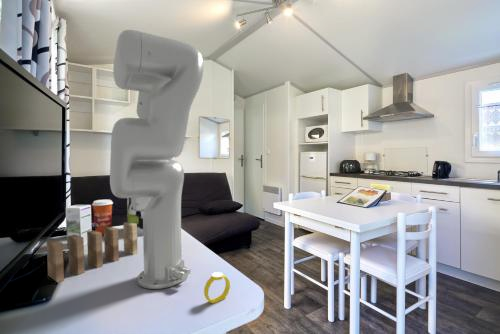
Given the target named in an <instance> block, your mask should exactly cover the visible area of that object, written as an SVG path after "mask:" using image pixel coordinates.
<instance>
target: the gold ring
mask: <svg viewBox="0 0 500 334" xmlns="http://www.w3.org/2000/svg"><path fill="white" fill-rule="evenodd" d="M210 276H211V277H210V278H209V279H208V280H207V281H206V282H205V285H204V289H203V293H204V297H205V299H206V300H207V301H208V302H209V303H211V304H215V303H218V302H220V301H223V300H225V299H226V297H227V296H228V294H229V292H230V289H231V288H230V287H231V284H230V283H231V282H230V280H229V278H228V277H227V276H226V275H224V272H221V271H215V272H212V273H211V275H210ZM223 279H224V282H225V286H224V290H223V292H222V293H221V295H219V296H216V297H214V298H212V299H211V298H210V296H209V289H210V287H211V285H212V284H213V282H214V281H221V280H223Z"/></svg>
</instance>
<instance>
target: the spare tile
mask: <svg viewBox="0 0 500 334" xmlns="http://www.w3.org/2000/svg"><path fill="white" fill-rule="evenodd" d="M122 229H123V230H122V231H123V252H124V253H127V254H129V255H132V256H135V255H137V254H138V251H139V250H138V249H139V248H138V236H137V224H135V223H130V222H128V221H126V222H123V228H122Z"/></svg>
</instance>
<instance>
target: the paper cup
mask: <svg viewBox="0 0 500 334" xmlns="http://www.w3.org/2000/svg"><path fill="white" fill-rule="evenodd" d="M113 204H114V202H113V200H111V199H97V200H94V201H93V202H92V204H91V206H92V209H93V210H92V211H93V220H94V221H93V222H94V229H95V230H94V231H97V232H101V233H102V236H104V228H105V227H112V216H113Z"/></svg>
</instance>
